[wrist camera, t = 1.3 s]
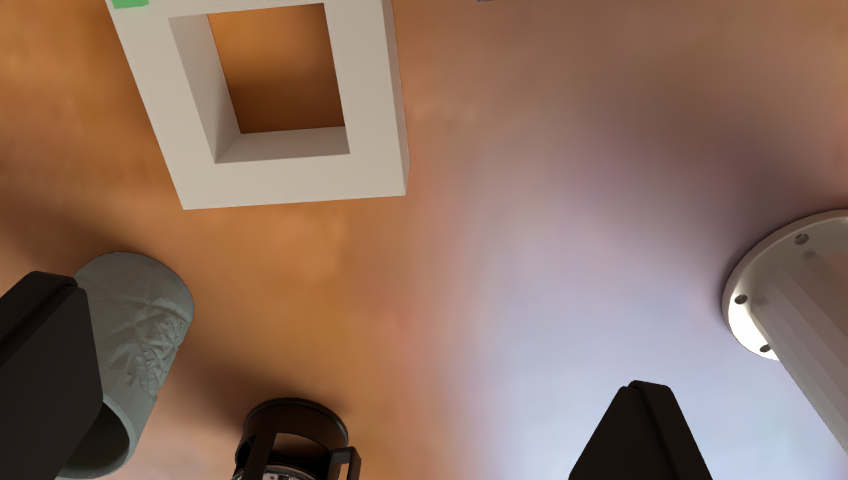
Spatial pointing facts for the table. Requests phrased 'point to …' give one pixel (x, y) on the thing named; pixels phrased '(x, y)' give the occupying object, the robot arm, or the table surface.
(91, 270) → the grey embossed plant pot
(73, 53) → the table surface
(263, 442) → the french press
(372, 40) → the port
